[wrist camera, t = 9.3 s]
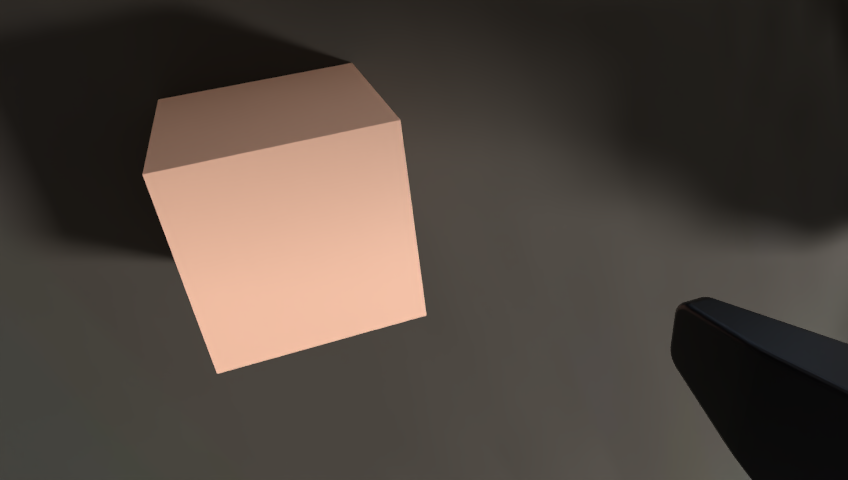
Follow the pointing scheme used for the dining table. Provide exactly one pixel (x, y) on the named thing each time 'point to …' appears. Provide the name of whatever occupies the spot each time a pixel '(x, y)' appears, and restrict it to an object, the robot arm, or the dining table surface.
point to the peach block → (286, 212)
